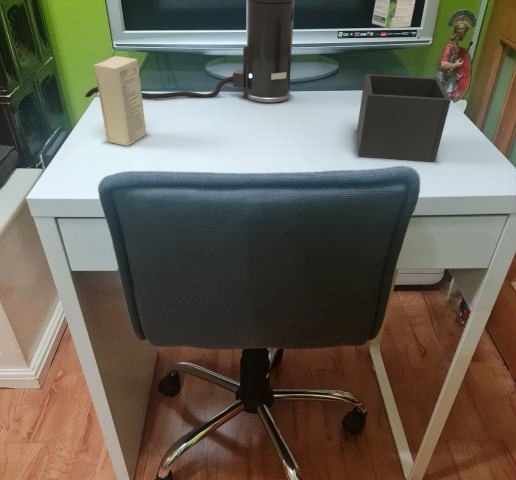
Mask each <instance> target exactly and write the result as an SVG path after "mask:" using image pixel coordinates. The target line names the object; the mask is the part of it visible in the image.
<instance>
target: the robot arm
mask: <svg viewBox="0 0 516 480" xmlns="http://www.w3.org/2000/svg"><path fill="white" fill-rule="evenodd" d="M295 2H296V0H246V15H245V16H246V21H245V22H246V25H245V26H246V27H245V28H246V30H245V31H246V32H245V33H246V34H245V37H246V38H245V39H246V40H245V42H246V44H245V45H243V50H242V67H238V68H237V69H236V70H234V72H232V75H231V76H228V77H225V78H223V79H222V80H220V81H219V82H218V83H217V84H216V87H215V90H214V91H211V92H209V93H200V92H193V91H173V92H164V93H150V92H149V93H147V92H141V93H142V99H143V98H144V99H155V100H156V99H170V98H179V97H180V98H181V97H188V98H189V97H190V98H196V99H210V98H214V97H216V96H218V95H219V94H220V92H221V88H222V87H223V86H224V85H226V84H228V83H230V82H232V87H233V88H239V89H242V98H243V99H249V100H251V101H253V102H259V103H266V104H267V103H270V104H271V103H279V102H284V101H287V100H289V99H290V97H291V95H290V94H291V91H290V89H291V74H292V73H291V72H292V71H291V70H292V55H293V54H292V51H293V37H294V35H293V34H294V19H295V18H294V17H295ZM96 93H99V91H98V86H96V87H93V88H90V90H88V92H86V94H85V96H84V98H90V97H92V96H93V95H94V94H96Z"/></svg>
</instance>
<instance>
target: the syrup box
mask: <svg viewBox="0 0 516 480" xmlns="http://www.w3.org/2000/svg"><path fill="white" fill-rule="evenodd" d="M415 3H416V0H375V2H374V8H373V13H372V20H371V24H372V25H377V26H379V27H383V28H385V29H389V30H390V29H401V28H410V27H411V25H412V19H413V15H414V10H415V5H416V4H415Z"/></svg>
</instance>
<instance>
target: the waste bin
mask: <svg viewBox="0 0 516 480" xmlns="http://www.w3.org/2000/svg"><path fill="white" fill-rule="evenodd" d="M361 93H362V94H361V100H360V107H359V113H358V120H357V127H356V138H357V140H356V141H357V155H358V157H360V158H374V159H388V160H399V161H415V162H416V161H417V162H430V163H435V162H436V159H437V157H438V152H439V148H440V145H441V140H442V136H443V132H444V129H445V125H446V121H447V118H448V114H449V110H450V105H451V101H452V100H451V97H450V96H449V94H448V92H447V90H446V88H445V86H444V84H443V83H442V81H441V79H440V77H428V76H409V75H395V74H394V75H391V74H373V73H365V74H364V80H363V87H362V92H361Z"/></svg>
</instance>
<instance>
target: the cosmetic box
mask: <svg viewBox="0 0 516 480" xmlns="http://www.w3.org/2000/svg"><path fill="white" fill-rule="evenodd" d="M93 68H94V74H95V78H96V85H97V87H98V91H99V92H98V97H99V102H100V109H101V112H102V120H103V125H104V132H105V137H106V142H107V143H111V144H114V145H115V144H116V145H121V146H125V147H128V146H130V145H132V144H133V143H135V142H137V141H138V140H140V139H142V138H143V137H145V136H146V135H147V128H146V119H145V112H144V103H143V98H142V93H143V92H142V87H141V79H140V70H139V60H138V58H132V57H127V56H119V55H114V56H111V57H109V58H107V59H104V60H101V61H99V62H97V63H94V64H93Z"/></svg>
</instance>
